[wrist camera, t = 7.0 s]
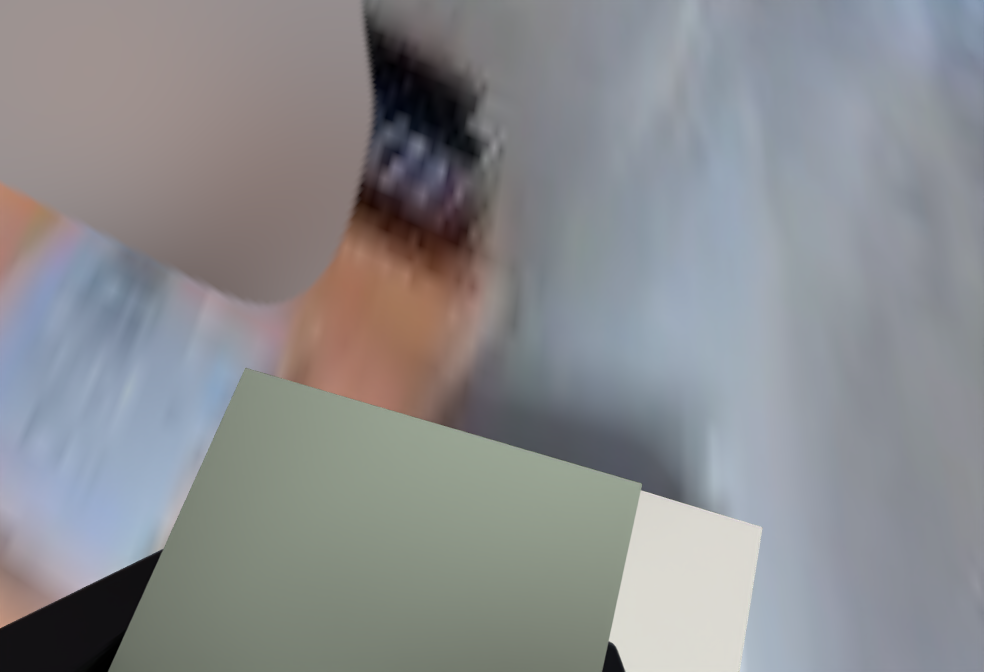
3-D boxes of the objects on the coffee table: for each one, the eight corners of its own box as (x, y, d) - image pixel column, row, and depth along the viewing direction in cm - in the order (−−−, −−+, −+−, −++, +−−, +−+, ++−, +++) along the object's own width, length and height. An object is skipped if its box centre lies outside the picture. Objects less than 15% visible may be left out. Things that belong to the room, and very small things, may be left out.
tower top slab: (665, 914, 16) (691, 973, 14) (314, 776, 18) (283, 809, 15) (732, 531, 19) (762, 527, 17) (430, 438, 21) (420, 422, 18)
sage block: (517, 741, 13) (523, 1039, 5) (324, 672, 14) (34, 832, 6) (569, 531, 15) (642, 482, 6) (392, 477, 15) (246, 368, 7)
